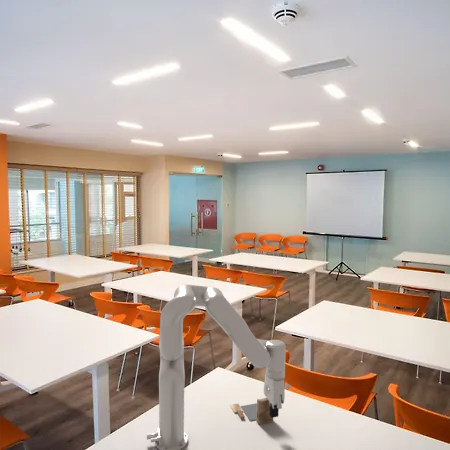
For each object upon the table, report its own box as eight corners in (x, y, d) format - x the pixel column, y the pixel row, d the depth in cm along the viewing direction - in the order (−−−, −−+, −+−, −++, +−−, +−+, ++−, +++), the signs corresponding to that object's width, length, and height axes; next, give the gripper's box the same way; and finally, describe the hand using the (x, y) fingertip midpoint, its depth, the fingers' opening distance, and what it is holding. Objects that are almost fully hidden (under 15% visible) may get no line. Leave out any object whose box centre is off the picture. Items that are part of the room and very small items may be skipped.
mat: (249, 421, 153) (250, 420, 153) (240, 406, 163) (240, 406, 163) (275, 416, 157) (275, 415, 157) (265, 402, 167) (265, 401, 167)
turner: (238, 420, 153) (238, 417, 153) (230, 406, 164) (230, 403, 164) (247, 418, 155) (247, 415, 155) (238, 404, 165) (238, 402, 165)
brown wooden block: (258, 424, 151) (258, 401, 150) (256, 421, 153) (257, 399, 152) (273, 421, 153) (273, 398, 152) (271, 418, 155) (272, 396, 154)
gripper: (259, 364, 149) (257, 407, 151) (274, 382, 135) (273, 429, 136) (275, 362, 151) (274, 404, 153) (292, 380, 137) (291, 425, 139)
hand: (273, 415), depth 145 cm, fingers closed
